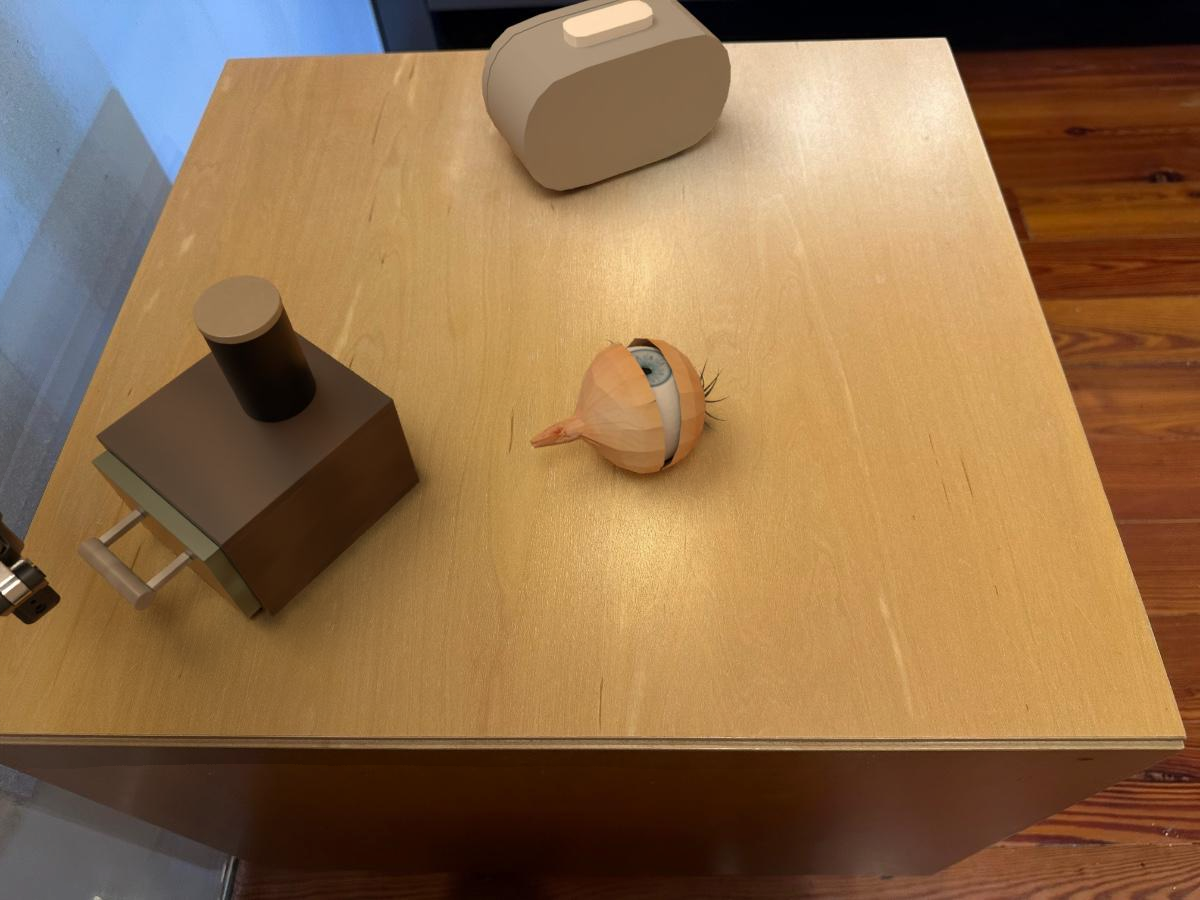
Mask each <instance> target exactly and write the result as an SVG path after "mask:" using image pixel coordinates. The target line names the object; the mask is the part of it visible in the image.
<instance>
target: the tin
mask: <svg viewBox="0 0 1200 900" xmlns="http://www.w3.org/2000/svg"><path fill="white" fill-rule="evenodd" d="M282 299H283V298H282V297H281V294H280V291H279V289H278V288H277V287H276V285H275V284H274V283H273V282H271V281H270V280H268V279H266V278H264V277H261V276H258V275H257V276H256V275H247V274H246V275H244V274H243V275H235V276H231V277H228V278H225V279H222V280H219V281H217V282H216V283H214V284H212V285H211V286H208V288H207V289H205V290H203V292H202V293H201V294H200V295H199V296H198V297H197V299H196V301H195V303H194V305H193V309H192V319H193V322H194V324H195V326H196V329H198V331H199V333H200V334H201V336H202V337H203V339H204V341H205V343H206V344H207V347H208V348H209V350H210V352H212V353H213V355H214V357H215V359H216V361H217V363H218V364H219V366H220V368H221V370H222V372H223V374H224V375H225V377H226V379H227V381H228V383H229V385H230V387H231V388H232V390H233V392H234V394H235V396H236V398H237V399H238V401H239V403H240V405H241V407H242V409H243V410H244V412H245V413H246V414H247V415H248V416H250V417H251V418H253V419H255V420H258V421H262V422H279V421H284V420H287V419H290V418H292V417H294V416H296V415H298V414H299V413H301V412H302V411H303V410H304V409H305V408H307V407H308V405H309V404H310V403H311V401H312V400H313V398H314V395H315V392H316V383H315V379H314V377H313V375H312V372H311V370H310V367H309V365H308V363H307V360H306V358H305V356H304V353H303V351H302V348H301V346H300V344H299V341H298V339H297V337H296V334H295V332H294V331H295V329H294V327H293V325H292V323H291V320H290V317H289V315H288V313H287V311H286V309H285V306H284V303H283V300H282Z"/></svg>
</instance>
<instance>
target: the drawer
mask: <svg viewBox="0 0 1200 900" xmlns="http://www.w3.org/2000/svg"><path fill="white" fill-rule="evenodd" d="M90 462H91V464H92V465H93V467H94V468H95V469H96V470H97V471H98V472H99V474H100V475H101V476H102V477H103V478H104V480H105V481H106V482H107V483H108V484H109V486H110V487H111V488H112V489H113V491H114V492H115V493H116V494H117V496H118V497H119V498H120V499H121V500H122V501H123V502H124V504H125V505H126V506H127V507H128V509H129V510H130V511H131V512H130V513H129V514H127V515H126V516H125V517H123V519H121V520H120V521H119V522H118V523H116V524H115V525H113V526H112V527H111V528H110V529H109V530H107V531H106V532H104V533H103V534H102V535H101V536H100V537H98V538H97V537H90V538H87V539H85V540H83V541H82V542H81V543H80V545H79V546H78V548H77V555H78V556H79V557H80V558H82V559H83V561H85V562H86V564H88V566H90V567H91V568H92V569H93V570H94V571H95V572H96V573H97V574H98V575H99V576H100V577H101V578H102V579H103V580H104V581H105V582H106V583H107V584H108V585H109V586H111V587H112V589H114V591H116V592H117V593H118V594H119V595H120V596H121V597H122V598H123V599H124V600H125V601H126V602H127V603H128V604H129V605H130V606H131V607H132V608H134V610H136V611H144V610H146V609H148V608H149V607H151V606H152V605H153V604H154V602H155V600H156V598H157V594H156V593H158V591H159V590H160V589H162V588H163V587H164V586H166V585H167V584H168V583H169V582H170V581H171V580H173V578H175V577H176V576H177V575H178V574H180V573H181V572H182V571H183V570H185V569H186V568H187V567H189V568H190V569H191V570H192V571H193V572H195V573H196V574H197V575H198V576H199V577H200V578H201V579H202V580H204V581H205V583H207V584H208V585H209V586H210V587H211V588H212V589H213V590H214V591H216V592H217V593H218V594H219V595H220V596H221V597H222V598H223V599H225V600H226V602H228V603H229V604H230V605H231V606H232V607H234V608H235V609H236V610H237V611H238V612H239V613H240V614H241V615H243V616H244V617H245V618H246V619H247V620H248V619H249V618H251V617H252V616H253V615H254V614H255V613H256V612H257V611H259V609H261V608H262V605H261V604H260V602H259V601H258V599H257V598H256V597H255V595H254V594H253V593H252V591H251V590H250V588H249V587H248V586H247V584H246V583H245V581H244V580H243V579H242V577H241V576H240V575H239V573H238V572H237V570H236V569H235V568H234V566H233V565H232V563H231V562H230V561H229V559H228V558H227V557H226V555H225V554H224V552H223V551H222V550H221V548H220V547H219V546H218V545H217V544H215V543H214V542H213V541H212V540H211V539H210V538H208V537H207V536H206V535H205V534H204V533H203V532H202V531H200V530H199V529H198V528H197V527H196V526H195V525H194V524H192V523H191V522H190V521H189V520H188V519H187V518H186V517H184V516H183V515H182V514H181V513H180V512H179V511H177V510H176V509H175V508H174V507H173V506H172V505H171V504H169V503H168V502H167V501H166V500H165V499H164V498H163V497H161V496H160V495H159V494H158V493H157V492H156V491H155V490H153V489H152V488H151V487H150V486H149V485H148V484H146V483H145V482H144V481H143V480H142V479H141V478H140V477H138V476H137V475H136V474H135V473H134V472H133V471H132V470H130V469H129V468H128V467H127V466H126V465H125V464H123V463H122V462H121V461H120V460H119V459H118V458H117V457H115V456H114V455H113V454H112V453H111V452H110V451H109V450H106V449H105V450H104V451H102V453H100V454H99V455H97V456H96V457H95V458H93V459H92V460H91V461H90ZM139 523H141V524H142V526H144V527H145V529H147V530H148V531H149V532H150V533H151V534H153V535H154V537H156V538H157V539H158V540H159V541H160V542H161V543H163V544H164V545H165V547H166V548H168V549H169V550H170V551H171V552H173V554H175V555H176V556H177V557H176V558H175V559H174V560H172V561H171V562H170V563H169V564H167V565H166V566H165V567H163V568H162V569H161V570H160V571H159V572H157V574H156V575H154V576H153V577H151V579H149V580H148V581H147V582H145V581H144V580H143V579H141V577H139V576H138V575H137V574H136V573H135V572H134V571H133V570H132V569H131V568H130V567H129V566H127V565H126V563H124V562H123V561H122V560H121V559H120V558H119V557H118V556H117V555H116V554H115V553H114V552H113V551H112V550H111V549H110V548H109V547H110V546H112V545H113V544H114V543H116V542H117V541H118V540H119V539H121V538H122V537H123V536H124V535H125V534H127V533H128V532H129V531H131V530H132V529H133V528H134V527H136V526H137V525H138V524H139Z"/></svg>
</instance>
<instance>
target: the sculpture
mask: <svg viewBox="0 0 1200 900" xmlns="http://www.w3.org/2000/svg"><path fill="white" fill-rule="evenodd" d="M607 342H610V343H611V344H610V345H608V346H606V347H604V348H603V349H600V350H599V351H598V352H597V354H596V355H595V357H594V358H593V359H592V361H591V363H590V365H589V366H588V368H586V370H585V372H584V375H583V379H582V382H581V386H580V390H579V394H578V398H577V401H576V405H575V409H574V414H573V415H572V416H570V417H568V418H565V419H562V420H560V421H558V422H556V423H554V424H552V425H551V426H549V427H547V428H546V429H544V430H543V431H541V432H540V433H537V434H536V435H534V437H532V438H531V439H530V440H529V442H530V444H531V446H532V448H534V449H539V448H545V447H552V446H558V445H563V444H569V443H571V442H576V441H578V440H583V441H584V442H585V443H587V445H589V446H590V447H591V448H593V449H594V450H595V451H597V452H598V453H599V454H600V455H602V456H603V457H604V458H605V459H606V460H608V461H610V462H611V463H613V464H614V465H615V466H616V467H619V468H622V469H625V470H628V471H631V472H634V473H637V474H641V475H642V474H649V473H655V472H656V473H657V472H659V471H663V470H665V469H667V468H670V467H671V466H673V465H676V464H678V463H679V462H680V461H681V460H683V459H684V458H685V457H687V455H688V454H689V453H690V452H691V451H692V449H693V448H694V447H695V446H696V445H697V443H698V440H700V439H699V438H700V437H701V434H702V433H703V431H704V425H706V426H707V427H708V428H710V429H711V430H713V431H714V432H716V430H715V429H714V428H712V427H711V426H710V425H709V424H708V423H707V422H706V421H705V420H706V415H707V416H708V417H710V418H712V419H713V420H716V421H717V420H718V421H721V422H726V419H721V418H717V417H715V416H713V415H711V414H710V413H709V412H708V411H707V409H706V408H707V404H711V403H712V404H714V403H718V402H721V401H724V400H726V399H727V398H729V396H726V397H724V398H722V399H717V400H706V398H707V397H708V396H709V395H710V394H711V392H712V391H713V389H714V387H715V385H716V383H717V380H718V377H719V376H720V375H721V373H722V371H723V369H724V368H722V369H721V370H720V369H718V370H717V375H716V376H715V378H714V379H713V380H712V381H710V383H709V384H708V385H707V386H706V387H705V380H704V377H703V375H704V372H705V368H706V365H707V362H708V359H709V357H707V359H706V361H705V363H704V366H703V368H702V372H701V371H700V370H699V372H700V375H699V374H698V371H697V370H696V366H694V364H693V363H692V361H691V359H690V358H689V356H688V355H686V354H685V353H683V352H682V351H681V350H679V349H678V348H677V347H675V346H673V345H672V344H670V343H669V342H667V341H666V340H663V339H655V338H653V339H652V338H648V337H647V338H645V337H644V338H640V337H639V338H638V337H635V338H634V339H632V341H631V342H630V343H629V344H628V345H627V347H626V346H624V344H622V342H621V343H620V342H619V341H615V342H613V341H611V340H609V339H607ZM719 370H720V372H719ZM706 403H707V404H706Z"/></svg>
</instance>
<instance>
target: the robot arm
mask: <svg viewBox="0 0 1200 900" xmlns="http://www.w3.org/2000/svg"><path fill="white" fill-rule="evenodd" d="M3 518H4V515H3V513H2V512H1V511H0V617H9V616H10V615H11V614H12V615H13V616H15V617H16V618H17V619H18V620H20V622H22V623H23V624H25V625H26V626H27V625H29V626H30V625H33V624H36V623H37V622H38V621H39V620H40V619H42V618H43V617H44V616H45V615H47V614H48V613H49V612H50V611H52V610H53V609H55V607H56V606H58V604H59V603H60V601H61V595H60V594H59V593H58V592H57V591H55V589H54V588H53V587H52V586H50V585H49V584H50V582H49V581H48V580H47V579H46V578H47V577H48V576H47V575H46V574H45V573H44V572H43V570H41V569H40V568H39V567H38V566H37V565H36V564H35V563H34V562H33V561H32V560H31V559H30V558H29V557H27V556H26V557H25V558H24V557H23V556H22V552H23V551H24V549H25V543H24V542H23V540H22V539H20V538H19V537H18V536H17V535H16V534H15V533H14V532H13V531H12V530H11V529H10V528H9V527H8V526H7V525H6V524H5V523H4V522H3ZM34 564H35V565H34Z"/></svg>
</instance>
